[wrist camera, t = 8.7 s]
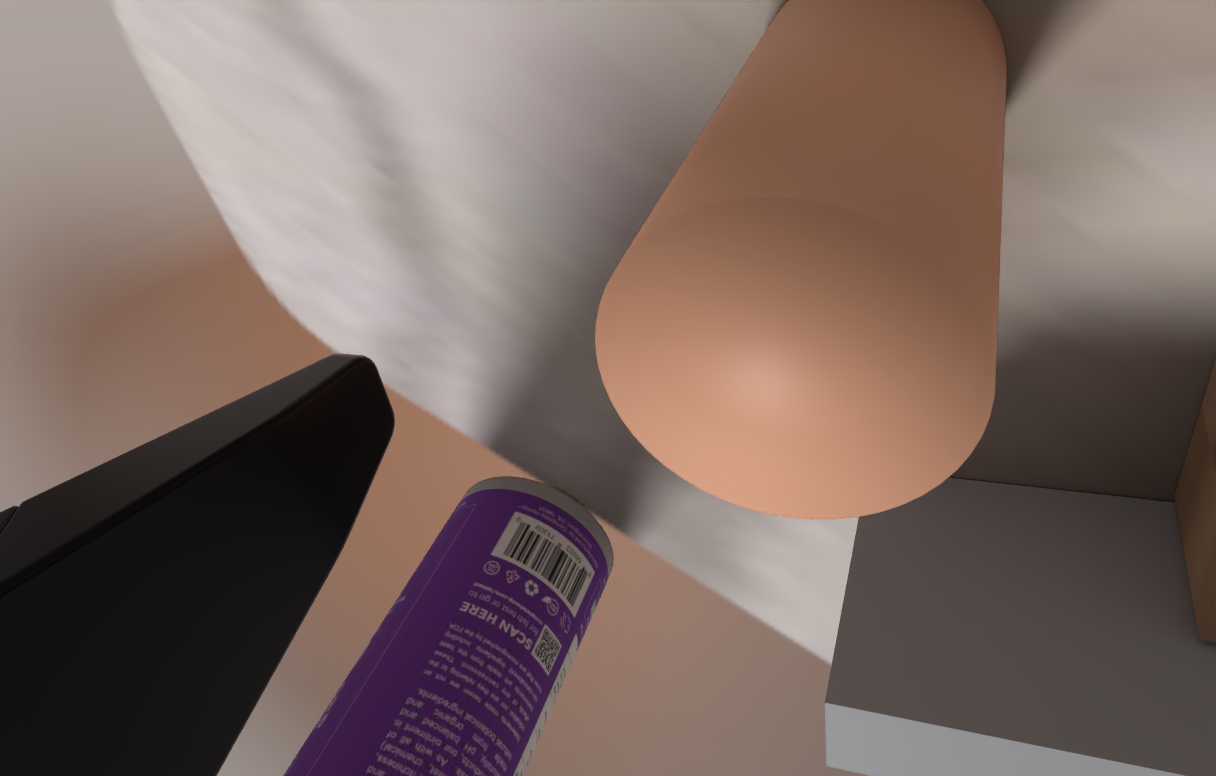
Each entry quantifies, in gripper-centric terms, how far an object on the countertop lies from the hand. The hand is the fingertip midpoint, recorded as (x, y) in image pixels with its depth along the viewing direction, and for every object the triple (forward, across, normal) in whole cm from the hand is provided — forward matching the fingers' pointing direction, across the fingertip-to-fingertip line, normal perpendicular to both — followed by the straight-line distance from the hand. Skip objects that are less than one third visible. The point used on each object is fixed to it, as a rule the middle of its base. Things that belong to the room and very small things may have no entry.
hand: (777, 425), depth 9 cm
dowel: (+9, 0, 0) cm, 9 cm away
